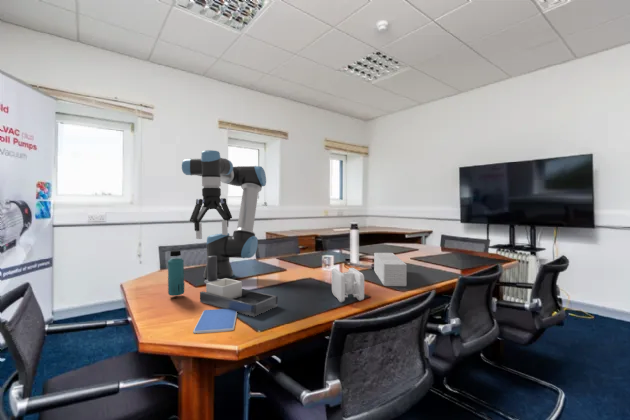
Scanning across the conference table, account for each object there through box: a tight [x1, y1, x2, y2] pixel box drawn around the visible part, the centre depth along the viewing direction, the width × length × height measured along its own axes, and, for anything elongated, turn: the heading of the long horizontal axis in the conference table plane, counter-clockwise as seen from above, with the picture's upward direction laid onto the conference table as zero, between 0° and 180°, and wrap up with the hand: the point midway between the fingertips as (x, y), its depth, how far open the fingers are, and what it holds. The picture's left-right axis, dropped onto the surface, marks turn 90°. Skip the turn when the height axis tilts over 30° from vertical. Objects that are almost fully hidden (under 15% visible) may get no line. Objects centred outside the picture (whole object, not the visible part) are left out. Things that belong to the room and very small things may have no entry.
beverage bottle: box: [167, 249, 186, 297], centre depth 130 cm, size 6×7×20 cm
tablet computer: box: [192, 308, 238, 334], centre depth 105 cm, size 19×13×1 cm, turn 10°
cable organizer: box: [331, 267, 365, 303], centre depth 129 cm, size 15×11×12 cm
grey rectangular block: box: [373, 252, 408, 287], centre depth 162 cm, size 32×11×11 cm, turn 178°
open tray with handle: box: [203, 255, 243, 299], centre depth 126 cm, size 10×14×16 cm
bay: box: [199, 287, 279, 318], centre depth 121 cm, size 13×30×4 cm, turn 57°
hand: (212, 236), depth 131 cm, fingers open, 13 cm apart
